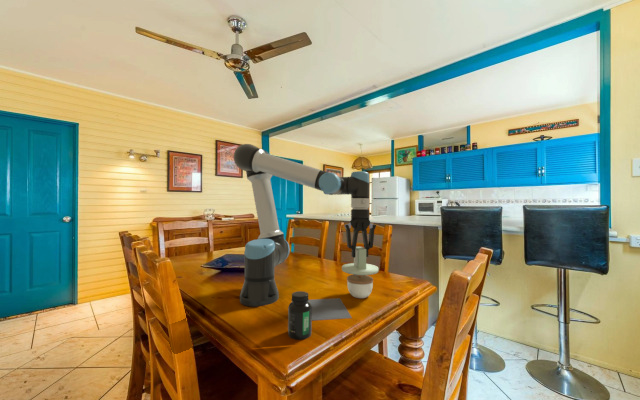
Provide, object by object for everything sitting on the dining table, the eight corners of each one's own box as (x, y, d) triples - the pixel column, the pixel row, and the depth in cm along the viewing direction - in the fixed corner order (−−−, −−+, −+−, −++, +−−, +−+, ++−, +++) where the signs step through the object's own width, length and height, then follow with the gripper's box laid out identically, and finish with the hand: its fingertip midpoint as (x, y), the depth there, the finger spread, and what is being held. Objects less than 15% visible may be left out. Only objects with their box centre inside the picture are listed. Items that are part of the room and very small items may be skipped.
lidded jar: (373, 302, 101) (373, 278, 101) (345, 300, 103) (345, 276, 103) (373, 293, 111) (373, 271, 111) (348, 291, 114) (348, 269, 114)
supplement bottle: (312, 340, 72) (312, 297, 72) (287, 341, 72) (287, 298, 72) (310, 329, 79) (311, 289, 79) (288, 329, 79) (288, 290, 79)
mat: (298, 322, 83) (298, 321, 83) (295, 301, 101) (295, 300, 101) (351, 319, 86) (352, 317, 86) (339, 299, 104) (339, 298, 104)
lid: (347, 275, 99) (347, 251, 99) (338, 266, 114) (338, 245, 114) (384, 274, 101) (384, 250, 101) (371, 265, 116) (371, 244, 116)
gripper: (343, 208, 103) (343, 267, 102) (381, 209, 105) (381, 266, 105) (339, 208, 110) (339, 263, 110) (375, 208, 113) (375, 262, 112)
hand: (359, 264), depth 107 cm, fingers closed on lid, 3 cm apart
